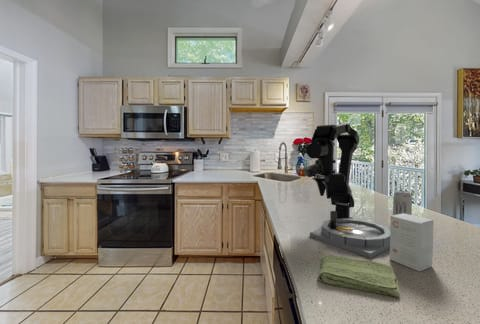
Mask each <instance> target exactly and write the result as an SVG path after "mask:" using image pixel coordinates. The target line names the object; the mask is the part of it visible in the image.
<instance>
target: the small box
mask: <svg viewBox="0 0 480 324" xmlns="http://www.w3.org/2000/svg"><path fill="white" fill-rule="evenodd" d="M389 226H390V227H389V229H390V248H389V261H393V262H396V263H398V264H400V265H402V266H405V267H408V268H409V269H412V270H414V271H417V272H423V271H424V270H426V269H428V268H432V267H433V254H434V252H433V251H434V246H433V245H434V219H430V218H426V217H421V216H417V215H413V214H412V215H409V214H404V213H403V214H397V215H393V214H391V215H390V225H389Z"/></svg>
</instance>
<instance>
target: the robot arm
mask: <svg viewBox="0 0 480 324" xmlns="http://www.w3.org/2000/svg"><path fill="white" fill-rule="evenodd" d="M335 140H336V141H337V142H338V143H337V144H338V147H339V150H340V152H341V154H340V159H339V167H338V168H339V169H338V172H336V170H334V164H336V159H334V150H335V149H334V146H335V142H334V141H335ZM310 142H311V143H309V144H308V145H307V147H306V150H305V152H306V155H307V156H308V157H309V158H310V159H313V160H314V159H315V161H314V164H311V165H307V166H305V167H303V168H302V170H303V173H304V176H305V177H308V178H311V179H312V180H313V181H315V183H316V185H317V187H318V188H317V189H318V192H319V195H320V197H324V195H325V196H326V199H327V200H328V199H330V203H331V205H332V206H335V208H334V209H335V210H334V211H336V212H337V219H341V218H346V219H347V218H349V219H354V218H353V217H351V215H350V214H351V211H350V210H351V209H352V208H354V207H355V199H354V196H353V194H352V192H353V191H352V189H351V187H350V184H349V183H350V175H351V169H352V160H353V154H354V152H356V150H357V149H358V145H359V144H360V135H359V133H358V131H357V130H356V129H354V128H353V127H352V125H351V124H350V123H346V122H345V123H338V124H324V125H322V124H321V125H317V126H316V127H315V129H314V131H313V134H312V138H311V140H310Z"/></svg>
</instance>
